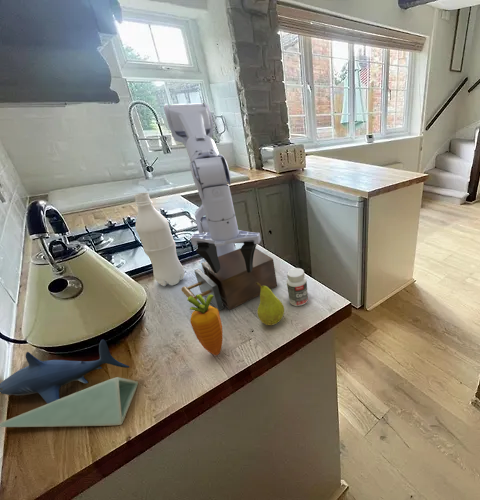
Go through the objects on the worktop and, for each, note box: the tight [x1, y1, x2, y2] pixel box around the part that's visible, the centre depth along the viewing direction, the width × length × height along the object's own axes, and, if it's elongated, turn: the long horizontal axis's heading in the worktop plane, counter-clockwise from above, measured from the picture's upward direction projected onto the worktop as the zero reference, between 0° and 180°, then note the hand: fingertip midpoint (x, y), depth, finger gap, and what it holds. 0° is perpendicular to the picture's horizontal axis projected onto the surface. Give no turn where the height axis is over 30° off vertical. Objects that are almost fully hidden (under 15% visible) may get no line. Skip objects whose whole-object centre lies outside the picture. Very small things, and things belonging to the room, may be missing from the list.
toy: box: [0, 338, 130, 404], centre depth 51 cm, size 10×22×10 cm, turn 96°
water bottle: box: [133, 192, 185, 287], centre depth 77 cm, size 7×7×25 cm
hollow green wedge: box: [0, 376, 139, 428], centre depth 46 cm, size 8×6×18 cm
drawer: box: [180, 268, 226, 311], centre depth 74 cm, size 17×10×7 cm, turn 136°
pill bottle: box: [286, 267, 309, 307], centre depth 72 cm, size 5×5×8 cm
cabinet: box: [201, 247, 278, 311], centre depth 77 cm, size 14×12×9 cm
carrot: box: [186, 293, 224, 357], centre depth 56 cm, size 5×5×15 cm
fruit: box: [256, 282, 285, 326], centre depth 65 cm, size 6×6×12 cm
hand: (233, 270), depth 69 cm, fingers open, 7 cm apart
